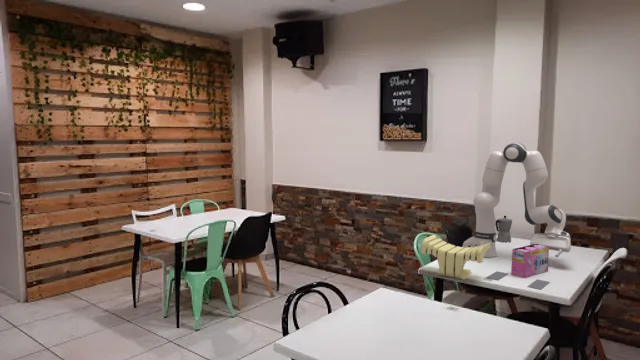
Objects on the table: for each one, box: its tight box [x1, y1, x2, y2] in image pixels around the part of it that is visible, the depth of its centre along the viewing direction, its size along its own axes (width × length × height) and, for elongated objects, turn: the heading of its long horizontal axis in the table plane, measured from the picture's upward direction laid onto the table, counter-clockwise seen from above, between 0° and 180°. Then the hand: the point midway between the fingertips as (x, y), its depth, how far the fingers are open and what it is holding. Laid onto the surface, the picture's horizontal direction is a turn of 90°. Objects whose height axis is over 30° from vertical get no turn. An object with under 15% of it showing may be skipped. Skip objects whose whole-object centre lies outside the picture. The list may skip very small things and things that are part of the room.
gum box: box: [510, 244, 550, 279], centre depth 236 cm, size 24×8×14 cm, turn 124°
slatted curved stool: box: [421, 234, 490, 280], centre depth 230 cm, size 30×16×18 cm, turn 54°
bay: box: [485, 270, 551, 290], centre depth 223 cm, size 26×15×1 cm, turn 48°
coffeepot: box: [495, 215, 513, 243], centre depth 309 cm, size 15×9×18 cm, turn 116°
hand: (547, 255), depth 245 cm, fingers open, 8 cm apart
